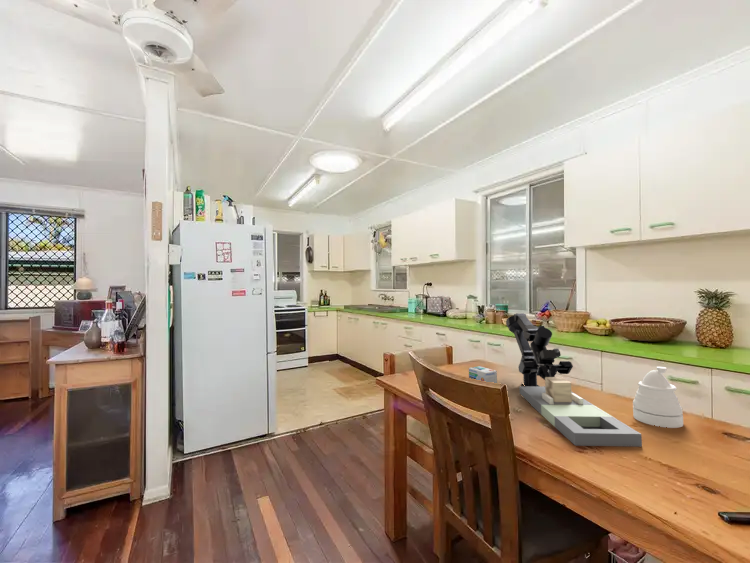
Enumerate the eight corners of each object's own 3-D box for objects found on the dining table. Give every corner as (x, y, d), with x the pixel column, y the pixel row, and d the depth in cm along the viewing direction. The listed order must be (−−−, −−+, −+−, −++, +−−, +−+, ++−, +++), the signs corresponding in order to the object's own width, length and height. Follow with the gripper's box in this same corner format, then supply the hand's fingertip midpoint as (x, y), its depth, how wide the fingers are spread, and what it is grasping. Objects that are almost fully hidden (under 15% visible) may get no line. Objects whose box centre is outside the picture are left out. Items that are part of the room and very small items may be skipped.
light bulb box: (468, 391, 149) (467, 367, 149) (480, 389, 151) (479, 365, 152) (486, 398, 139) (485, 372, 139) (498, 396, 142) (497, 370, 142)
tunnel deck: (519, 394, 143) (519, 381, 143) (563, 394, 141) (563, 381, 141) (575, 445, 96) (574, 426, 96) (642, 446, 94) (641, 426, 94)
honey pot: (692, 423, 109) (689, 368, 109) (668, 430, 104) (665, 372, 105) (647, 411, 121) (645, 360, 121) (624, 416, 116) (622, 364, 117)
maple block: (545, 395, 130) (544, 377, 131) (561, 395, 130) (561, 377, 130) (554, 402, 122) (553, 382, 123) (571, 402, 122) (571, 382, 122)
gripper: (521, 341, 137) (533, 375, 126) (569, 341, 136) (585, 375, 124) (516, 357, 145) (526, 390, 133) (561, 357, 143) (575, 390, 132)
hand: (553, 386), depth 130 cm, fingers closed, pressing on maple block
